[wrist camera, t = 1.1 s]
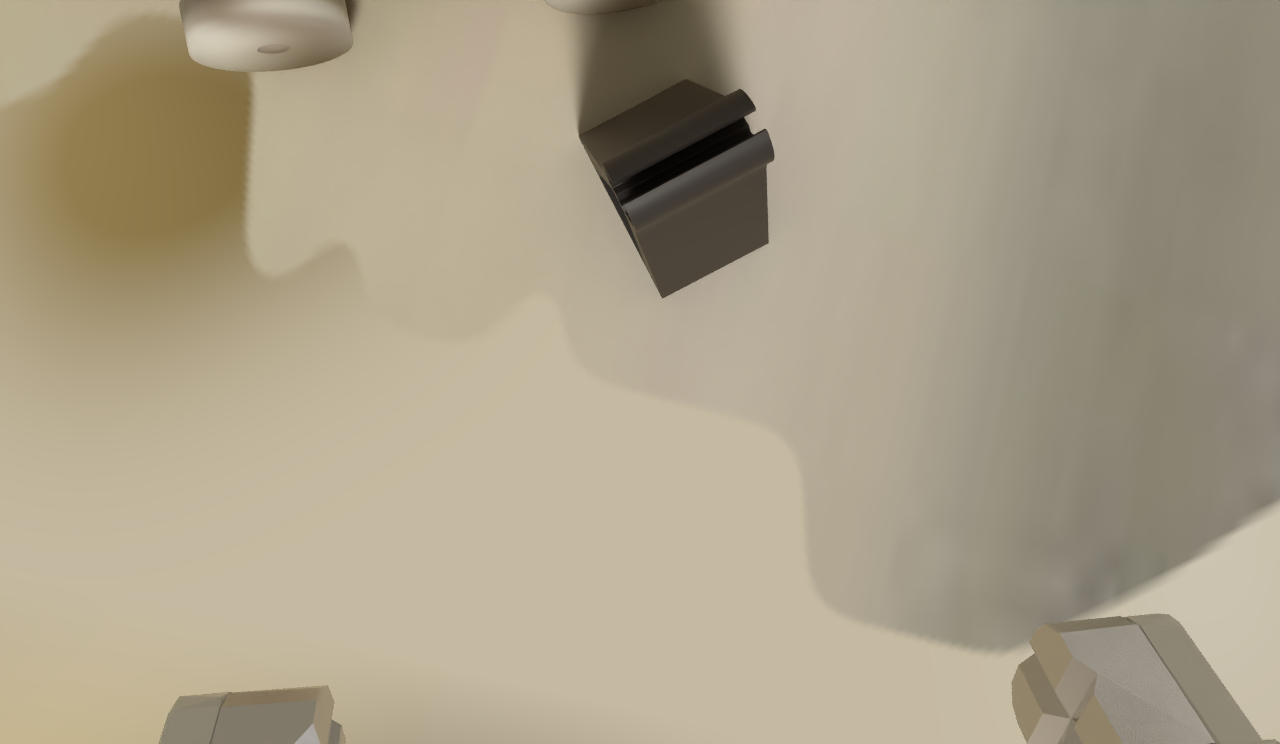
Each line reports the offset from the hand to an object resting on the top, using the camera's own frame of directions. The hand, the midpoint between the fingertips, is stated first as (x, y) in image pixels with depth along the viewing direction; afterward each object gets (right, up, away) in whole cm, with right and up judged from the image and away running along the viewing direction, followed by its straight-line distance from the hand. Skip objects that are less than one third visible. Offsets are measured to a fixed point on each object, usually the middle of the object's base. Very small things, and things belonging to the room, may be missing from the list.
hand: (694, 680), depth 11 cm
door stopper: (+1, +13, +35) cm, 38 cm away
